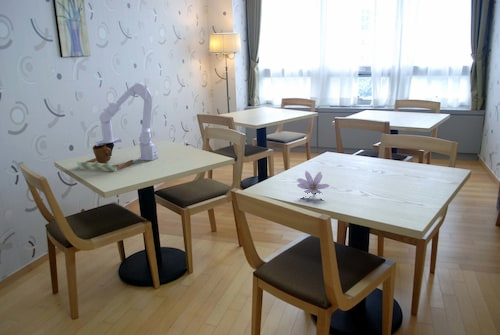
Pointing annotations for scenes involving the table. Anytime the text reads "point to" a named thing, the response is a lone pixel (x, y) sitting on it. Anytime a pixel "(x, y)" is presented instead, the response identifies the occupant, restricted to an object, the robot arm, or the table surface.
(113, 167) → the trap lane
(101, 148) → the mug
